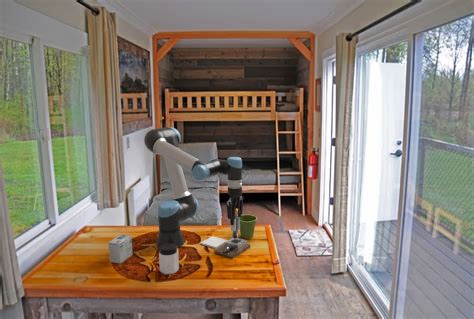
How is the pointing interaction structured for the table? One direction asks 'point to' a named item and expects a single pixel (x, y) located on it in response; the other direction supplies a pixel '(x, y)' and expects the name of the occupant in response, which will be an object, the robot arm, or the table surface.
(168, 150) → the robot arm
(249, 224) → the plant pot
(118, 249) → the light bulb box
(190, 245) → the table surface
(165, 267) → the jar
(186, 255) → the table surface
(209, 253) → the table surface
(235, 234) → the copper and gray cylinder
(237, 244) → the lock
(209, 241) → the mat
